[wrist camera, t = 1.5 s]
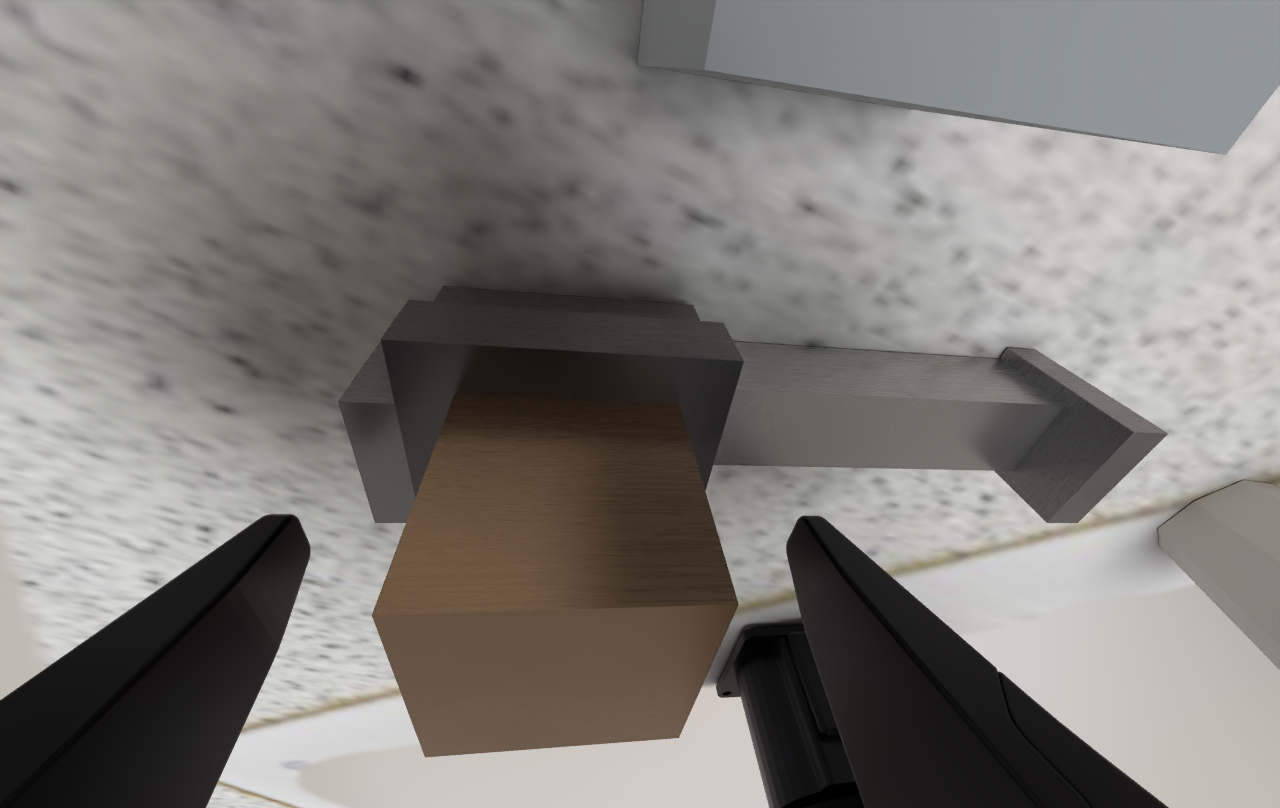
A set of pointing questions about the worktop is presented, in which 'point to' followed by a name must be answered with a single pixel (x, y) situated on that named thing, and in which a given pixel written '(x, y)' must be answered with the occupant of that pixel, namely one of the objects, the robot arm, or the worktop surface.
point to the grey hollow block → (997, 58)
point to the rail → (862, 422)
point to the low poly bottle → (1234, 556)
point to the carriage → (555, 518)
